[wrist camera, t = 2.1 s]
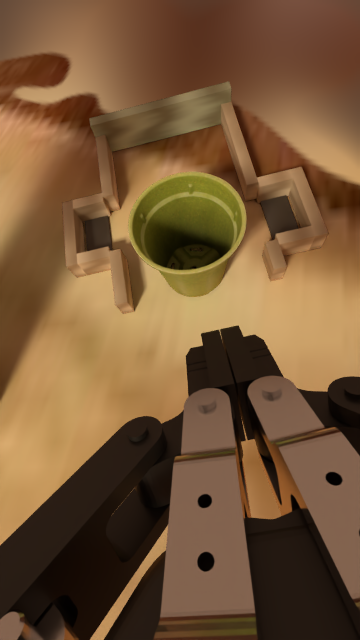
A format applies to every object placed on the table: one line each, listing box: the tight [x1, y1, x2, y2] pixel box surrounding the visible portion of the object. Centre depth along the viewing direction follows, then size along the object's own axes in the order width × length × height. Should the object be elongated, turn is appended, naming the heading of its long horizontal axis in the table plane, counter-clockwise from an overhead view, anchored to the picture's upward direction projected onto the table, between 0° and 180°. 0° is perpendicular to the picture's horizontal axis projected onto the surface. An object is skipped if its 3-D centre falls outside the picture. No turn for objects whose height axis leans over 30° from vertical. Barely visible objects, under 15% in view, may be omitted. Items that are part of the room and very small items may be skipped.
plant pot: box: [128, 172, 247, 297], centre depth 29 cm, size 9×9×9 cm
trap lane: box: [62, 82, 328, 314], centre depth 34 cm, size 26×23×4 cm
